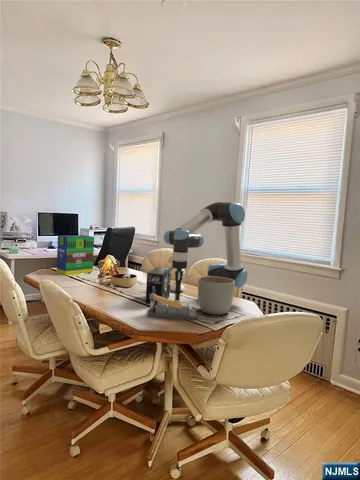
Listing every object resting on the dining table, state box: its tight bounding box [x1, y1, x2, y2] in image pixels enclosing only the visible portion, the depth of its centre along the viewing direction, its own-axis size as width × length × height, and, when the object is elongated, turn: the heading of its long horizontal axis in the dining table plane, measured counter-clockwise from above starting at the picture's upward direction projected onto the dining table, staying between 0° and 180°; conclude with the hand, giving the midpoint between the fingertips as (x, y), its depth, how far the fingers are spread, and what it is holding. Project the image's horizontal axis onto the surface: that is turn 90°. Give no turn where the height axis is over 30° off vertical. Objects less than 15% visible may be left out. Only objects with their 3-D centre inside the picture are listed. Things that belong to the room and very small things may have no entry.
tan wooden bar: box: [149, 294, 182, 308], centre depth 178 cm, size 22×4×2 cm, turn 46°
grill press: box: [147, 300, 197, 321], centre depth 185 cm, size 25×14×7 cm, turn 91°
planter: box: [197, 275, 236, 316], centre depth 195 cm, size 21×21×19 cm
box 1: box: [56, 234, 95, 276], centre depth 280 cm, size 25×14×30 cm, turn 140°
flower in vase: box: [167, 255, 186, 292], centre depth 241 cm, size 13×11×25 cm
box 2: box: [145, 266, 172, 306], centre depth 213 cm, size 23×10×19 cm, turn 168°
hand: (176, 305), depth 175 cm, fingers closed
